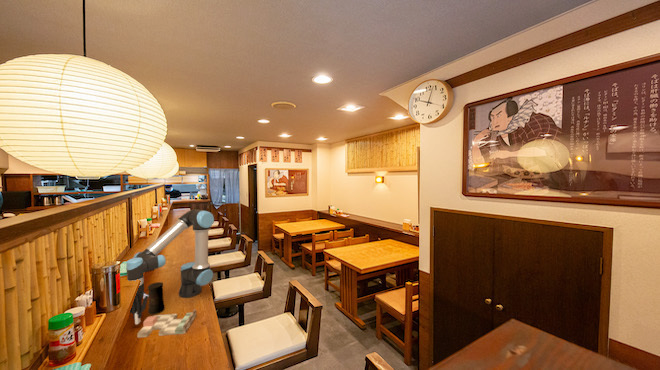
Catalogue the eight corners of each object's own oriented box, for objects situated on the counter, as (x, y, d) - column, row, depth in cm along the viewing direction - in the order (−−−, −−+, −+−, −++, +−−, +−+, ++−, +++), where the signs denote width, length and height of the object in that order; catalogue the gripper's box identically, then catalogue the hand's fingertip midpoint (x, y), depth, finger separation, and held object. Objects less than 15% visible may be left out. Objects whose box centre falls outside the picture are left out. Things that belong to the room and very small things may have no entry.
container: (146, 311, 165) (145, 285, 164) (162, 305, 172) (161, 280, 170) (150, 316, 159) (148, 289, 158) (166, 310, 166) (165, 284, 164)
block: (148, 321, 151) (148, 316, 150) (157, 320, 151) (157, 315, 151) (143, 326, 146) (143, 321, 145) (152, 325, 147) (152, 321, 146)
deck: (153, 319, 157) (153, 312, 156) (196, 315, 161) (195, 309, 160) (137, 337, 140) (137, 330, 140) (185, 333, 144) (185, 326, 144)
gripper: (119, 288, 141) (121, 328, 143) (144, 287, 143) (146, 325, 145) (127, 282, 148) (129, 320, 150) (151, 281, 150) (153, 318, 152)
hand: (137, 322), depth 147 cm, fingers closed
